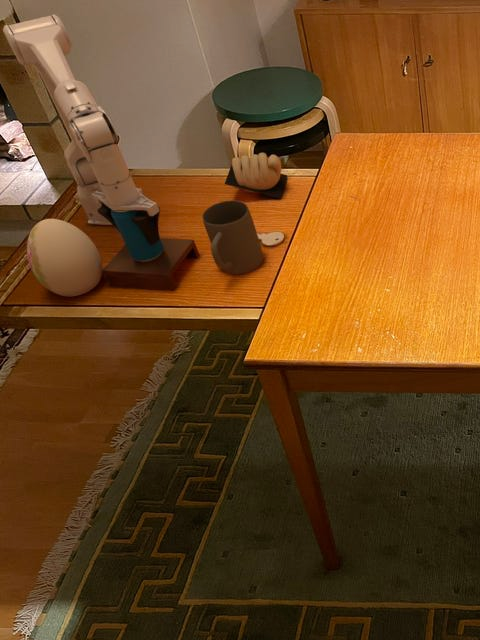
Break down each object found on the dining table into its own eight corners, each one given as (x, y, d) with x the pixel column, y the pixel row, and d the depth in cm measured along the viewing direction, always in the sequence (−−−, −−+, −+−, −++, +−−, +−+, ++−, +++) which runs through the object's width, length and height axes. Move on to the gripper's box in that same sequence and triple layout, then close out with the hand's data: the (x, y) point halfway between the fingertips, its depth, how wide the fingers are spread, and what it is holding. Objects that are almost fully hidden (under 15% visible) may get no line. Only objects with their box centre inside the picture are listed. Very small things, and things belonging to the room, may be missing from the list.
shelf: (110, 286, 145) (101, 270, 142) (139, 251, 153) (131, 236, 150) (174, 290, 143) (167, 274, 140) (199, 255, 151) (193, 239, 148)
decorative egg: (61, 267, 150) (27, 205, 140) (119, 265, 150) (88, 202, 140) (36, 304, 141) (-3, 241, 131) (97, 302, 141) (62, 238, 131)
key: (288, 233, 154) (274, 246, 151) (288, 235, 155) (275, 247, 151) (247, 224, 158) (233, 237, 155) (247, 225, 158) (233, 238, 155)
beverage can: (171, 247, 147) (150, 196, 138) (152, 266, 142) (128, 214, 134) (145, 243, 148) (122, 192, 140) (125, 261, 144) (100, 209, 136)
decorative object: (292, 148, 168) (286, 172, 161) (285, 184, 175) (279, 208, 168) (236, 133, 164) (227, 156, 158) (231, 170, 171) (223, 194, 164)
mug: (229, 248, 152) (211, 199, 144) (270, 249, 151) (255, 200, 143) (204, 288, 143) (184, 238, 134) (248, 289, 142) (230, 239, 133)
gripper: (159, 173, 133) (183, 234, 143) (101, 161, 138) (128, 221, 147) (131, 192, 129) (159, 254, 138) (73, 179, 133) (103, 239, 143)
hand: (141, 238), depth 143 cm, fingers closed on beverage can, 6 cm apart
